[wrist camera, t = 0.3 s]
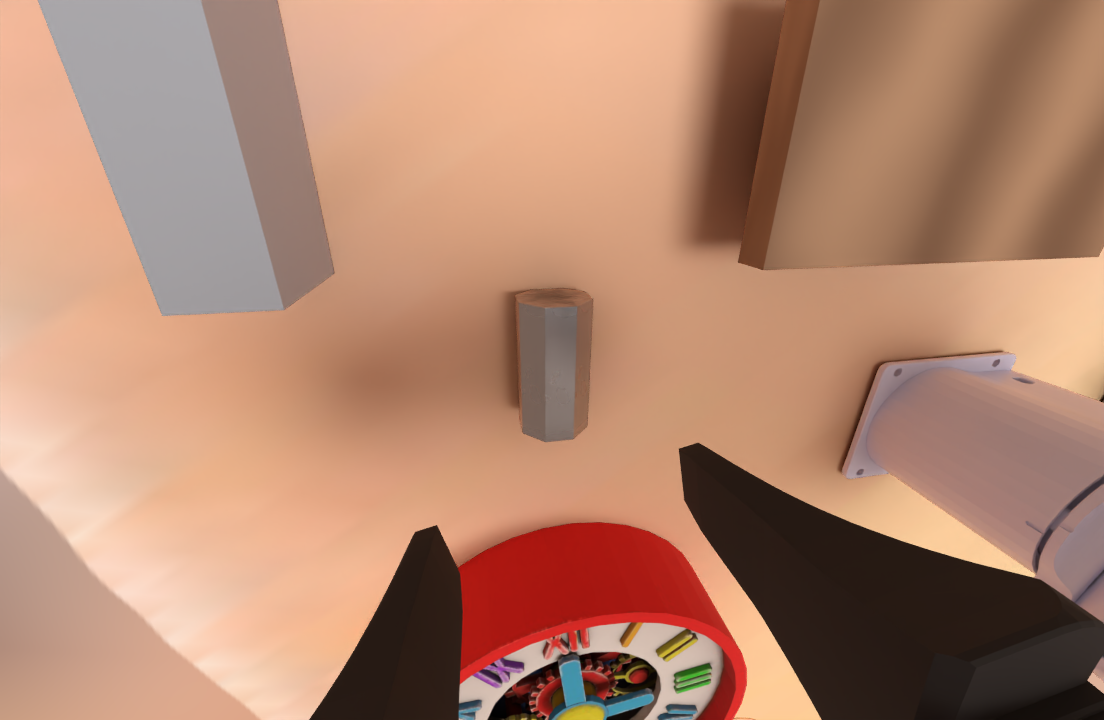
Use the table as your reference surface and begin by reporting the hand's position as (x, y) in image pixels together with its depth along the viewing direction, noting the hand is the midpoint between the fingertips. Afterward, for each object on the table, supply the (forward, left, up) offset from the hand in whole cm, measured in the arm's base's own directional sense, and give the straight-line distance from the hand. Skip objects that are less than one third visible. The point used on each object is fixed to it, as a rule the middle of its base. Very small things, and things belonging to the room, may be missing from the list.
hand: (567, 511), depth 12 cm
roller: (-1, -1, -9) cm, 9 cm away
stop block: (+9, -10, -9) cm, 16 cm away
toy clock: (-2, +20, -9) cm, 22 cm away
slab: (-16, -10, -6) cm, 20 cm away
